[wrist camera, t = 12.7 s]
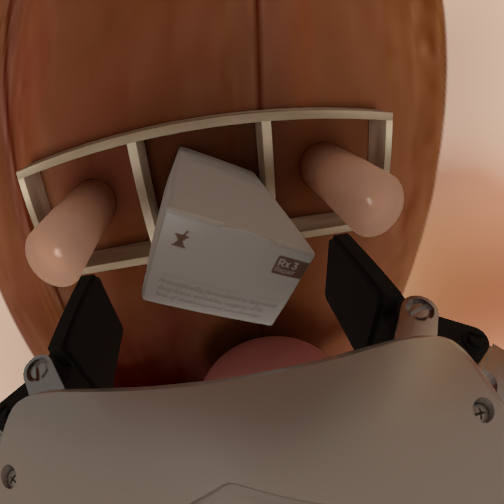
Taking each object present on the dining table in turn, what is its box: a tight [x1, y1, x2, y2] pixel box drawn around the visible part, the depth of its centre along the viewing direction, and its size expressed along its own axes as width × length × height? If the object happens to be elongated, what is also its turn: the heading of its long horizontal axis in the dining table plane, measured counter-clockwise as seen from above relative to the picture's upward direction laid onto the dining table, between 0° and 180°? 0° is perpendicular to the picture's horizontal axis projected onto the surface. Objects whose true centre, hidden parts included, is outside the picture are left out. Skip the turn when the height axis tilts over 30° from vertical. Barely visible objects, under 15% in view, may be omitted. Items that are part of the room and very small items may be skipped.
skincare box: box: [142, 147, 315, 326], centre depth 16 cm, size 6×4×12 cm
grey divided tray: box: [16, 107, 404, 287], centre depth 17 cm, size 10×28×8 cm, turn 94°
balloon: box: [204, 336, 329, 381], centre depth 26 cm, size 15×20×15 cm
